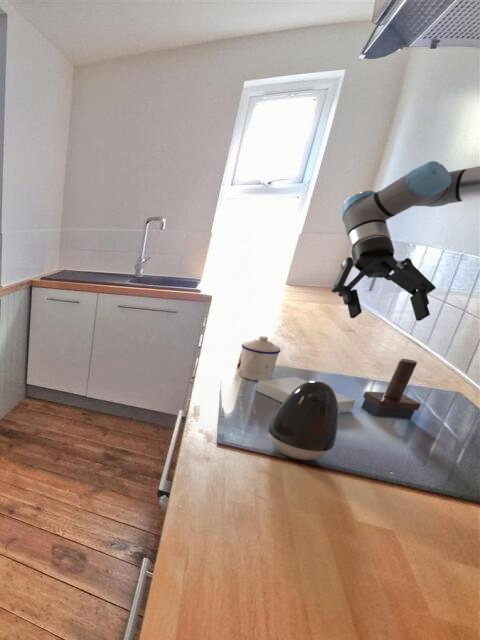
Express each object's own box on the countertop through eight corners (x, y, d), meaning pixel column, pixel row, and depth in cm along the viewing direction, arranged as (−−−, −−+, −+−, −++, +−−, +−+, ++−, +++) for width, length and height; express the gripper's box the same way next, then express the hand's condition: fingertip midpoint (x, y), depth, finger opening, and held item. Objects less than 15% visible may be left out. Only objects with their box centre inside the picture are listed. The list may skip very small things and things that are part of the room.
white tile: (351, 411, 98) (355, 400, 96) (310, 416, 95) (314, 405, 94) (292, 387, 111) (295, 376, 110) (255, 391, 109) (258, 380, 107)
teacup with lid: (241, 367, 124) (251, 330, 120) (276, 376, 118) (288, 337, 113) (224, 377, 117) (235, 338, 113) (261, 387, 111) (273, 346, 106)
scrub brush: (395, 409, 99) (419, 357, 93) (413, 420, 94) (439, 366, 88) (358, 406, 100) (380, 355, 95) (374, 416, 95) (397, 363, 90)
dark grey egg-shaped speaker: (257, 453, 81) (280, 382, 75) (269, 434, 88) (290, 367, 82) (322, 474, 74) (353, 399, 68) (330, 452, 81) (358, 381, 75)
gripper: (415, 256, 107) (437, 327, 99) (306, 254, 112) (319, 322, 104) (441, 235, 100) (467, 310, 92) (324, 234, 105) (339, 305, 97)
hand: (389, 316), depth 98 cm, fingers open, 13 cm apart
